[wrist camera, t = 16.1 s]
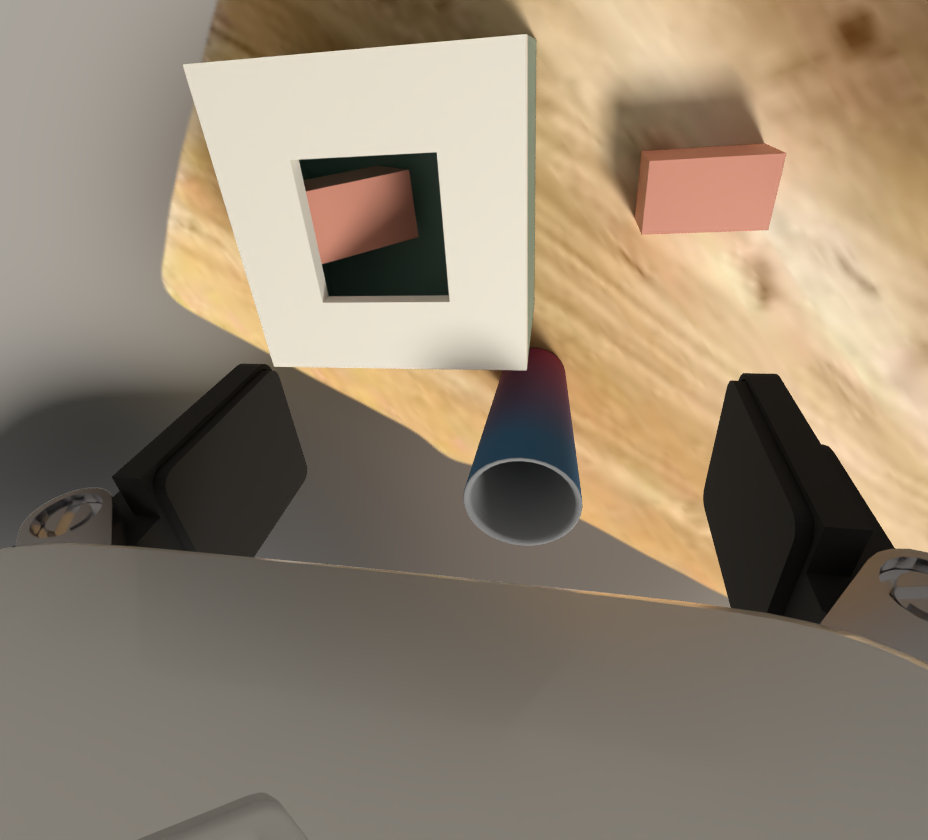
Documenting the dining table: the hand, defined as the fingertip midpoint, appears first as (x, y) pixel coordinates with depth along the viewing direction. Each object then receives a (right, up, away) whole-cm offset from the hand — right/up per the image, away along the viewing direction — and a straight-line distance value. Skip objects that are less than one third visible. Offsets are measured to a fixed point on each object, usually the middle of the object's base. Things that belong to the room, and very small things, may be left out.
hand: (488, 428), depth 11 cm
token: (+14, +15, +22) cm, 30 cm away
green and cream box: (-4, +16, +25) cm, 30 cm away
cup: (+5, +4, +32) cm, 32 cm away
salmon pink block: (-5, +14, +23) cm, 28 cm away
